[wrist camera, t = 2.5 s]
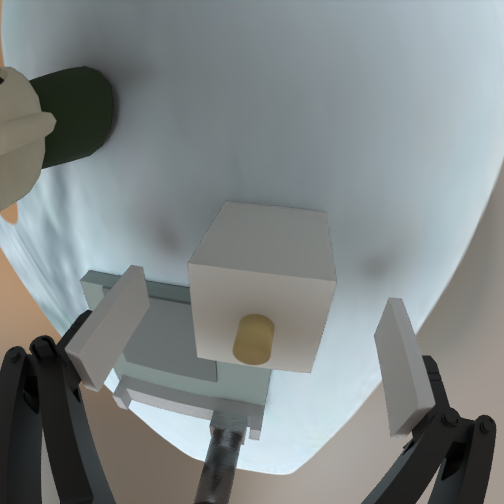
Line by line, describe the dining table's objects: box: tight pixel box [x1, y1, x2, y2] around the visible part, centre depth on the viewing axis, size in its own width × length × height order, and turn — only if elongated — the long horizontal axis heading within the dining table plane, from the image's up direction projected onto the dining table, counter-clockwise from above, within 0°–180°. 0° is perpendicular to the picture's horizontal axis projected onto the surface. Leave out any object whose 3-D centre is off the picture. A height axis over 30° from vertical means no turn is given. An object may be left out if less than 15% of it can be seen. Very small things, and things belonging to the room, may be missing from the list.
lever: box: [194, 411, 248, 504], centre depth 21 cm, size 3×3×11 cm
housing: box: [188, 201, 337, 373], centre depth 16 cm, size 6×6×9 cm
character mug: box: [0, 66, 113, 212], centre depth 10 cm, size 11×7×13 cm, turn 89°
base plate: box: [80, 270, 271, 440], centre depth 24 cm, size 15×16×4 cm
